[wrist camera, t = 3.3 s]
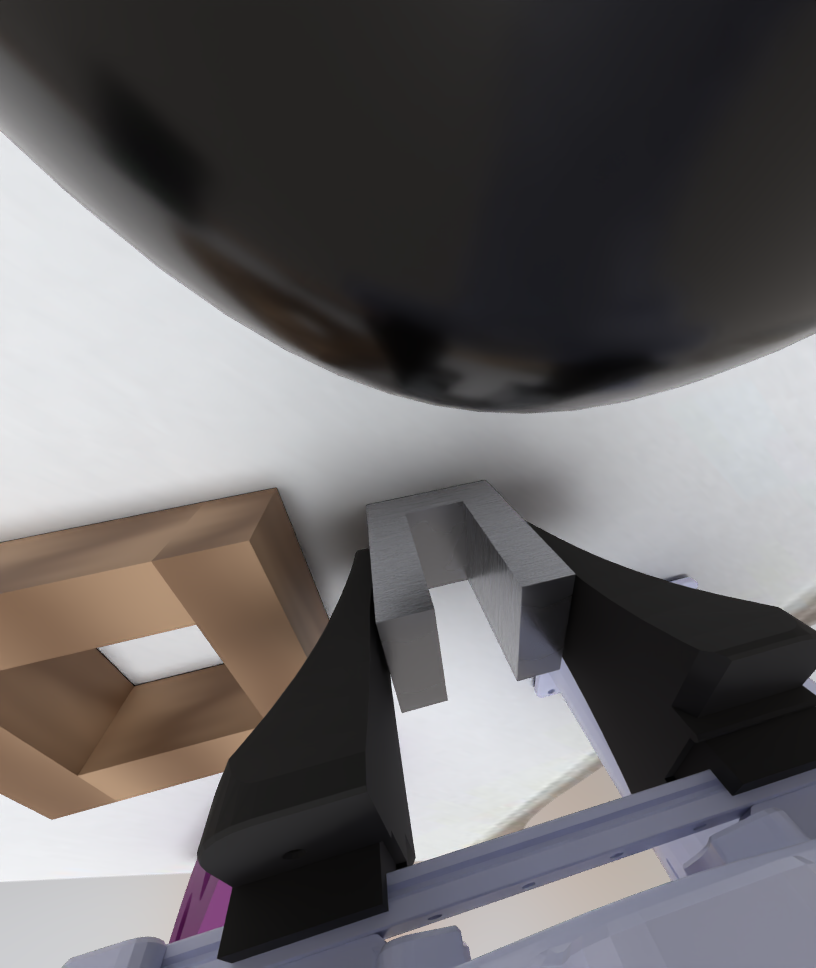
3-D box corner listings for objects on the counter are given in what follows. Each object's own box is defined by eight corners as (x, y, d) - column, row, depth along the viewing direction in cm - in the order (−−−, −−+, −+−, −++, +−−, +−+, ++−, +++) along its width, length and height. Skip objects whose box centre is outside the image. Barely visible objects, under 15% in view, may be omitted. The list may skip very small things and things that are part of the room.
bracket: (485, 479, 12) (575, 574, 7) (487, 554, 14) (559, 669, 9) (366, 505, 12) (376, 623, 7) (384, 578, 13) (401, 713, 9)
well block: (276, 487, 11) (248, 540, 8) (347, 666, 16) (346, 737, 13) (-93, 561, 10) (-278, 653, 7) (109, 727, 15) (51, 819, 12)
